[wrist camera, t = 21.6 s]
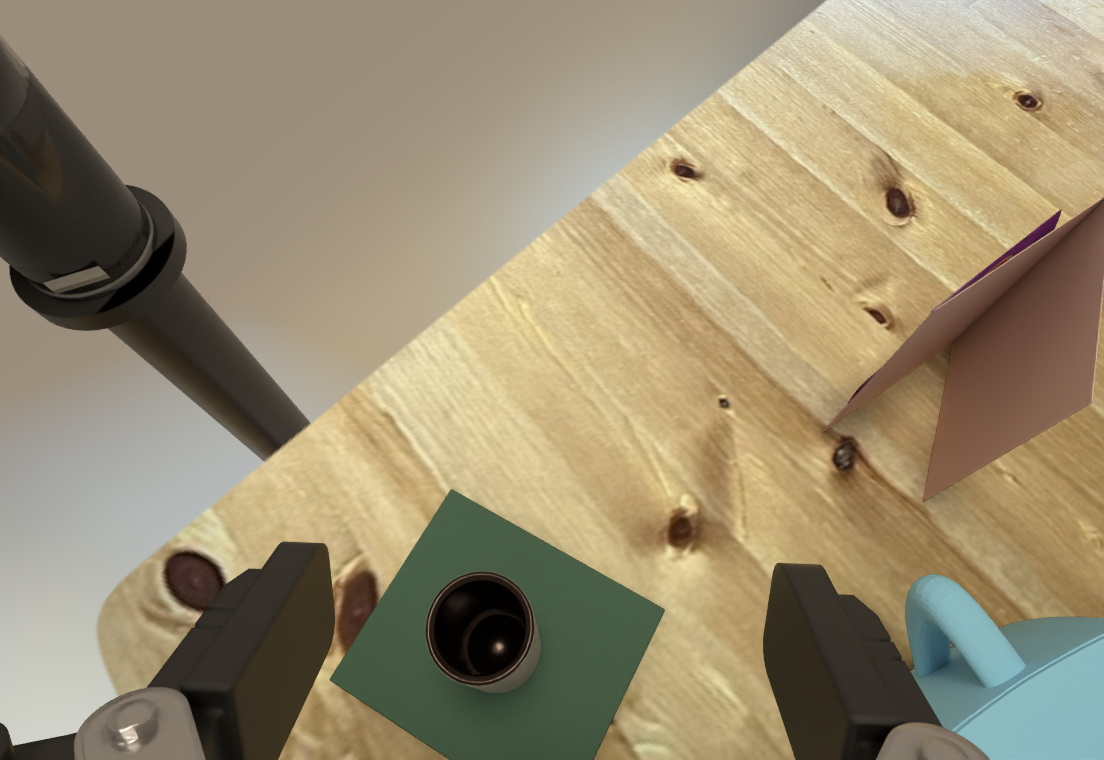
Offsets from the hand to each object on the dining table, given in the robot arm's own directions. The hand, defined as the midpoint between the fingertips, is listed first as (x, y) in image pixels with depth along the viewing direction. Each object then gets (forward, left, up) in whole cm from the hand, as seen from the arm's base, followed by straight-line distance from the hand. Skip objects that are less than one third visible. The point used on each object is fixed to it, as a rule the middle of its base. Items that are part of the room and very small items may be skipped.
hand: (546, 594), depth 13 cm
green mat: (-3, 0, -29) cm, 29 cm away
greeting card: (+13, +24, -29) cm, 39 cm away
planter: (-3, 0, -28) cm, 28 cm away
